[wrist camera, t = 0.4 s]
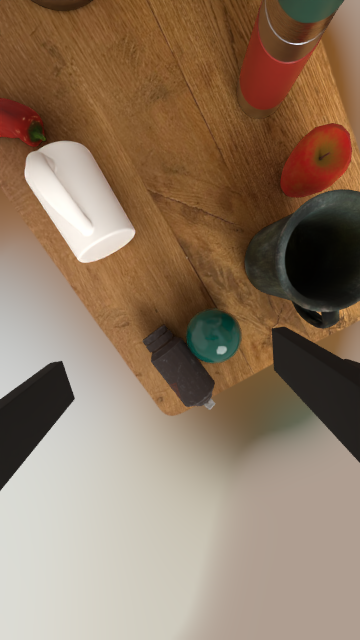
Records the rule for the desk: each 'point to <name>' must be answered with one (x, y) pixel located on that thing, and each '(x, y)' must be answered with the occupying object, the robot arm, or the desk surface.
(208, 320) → the sphere
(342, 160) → the apple
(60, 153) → the mug
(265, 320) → the desk surface
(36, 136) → the vegetable
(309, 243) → the mug
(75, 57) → the desk surface
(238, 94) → the tin low
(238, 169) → the desk surface
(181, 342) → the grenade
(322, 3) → the tin top
